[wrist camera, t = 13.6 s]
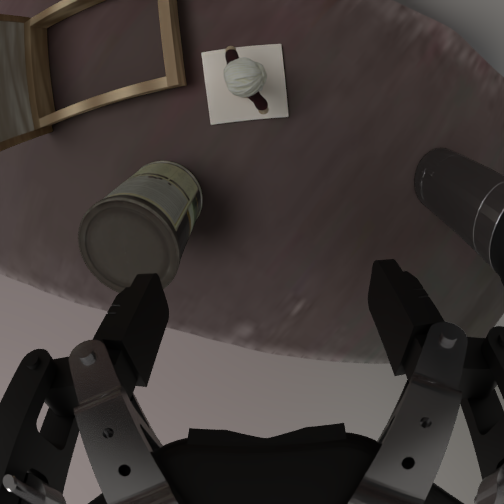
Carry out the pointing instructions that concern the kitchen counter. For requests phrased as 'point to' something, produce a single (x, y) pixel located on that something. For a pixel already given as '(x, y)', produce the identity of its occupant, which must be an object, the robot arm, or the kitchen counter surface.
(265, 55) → the tile
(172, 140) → the kitchen counter surface
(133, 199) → the coffee can
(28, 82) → the cold frame
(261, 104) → the grandmother figurine
